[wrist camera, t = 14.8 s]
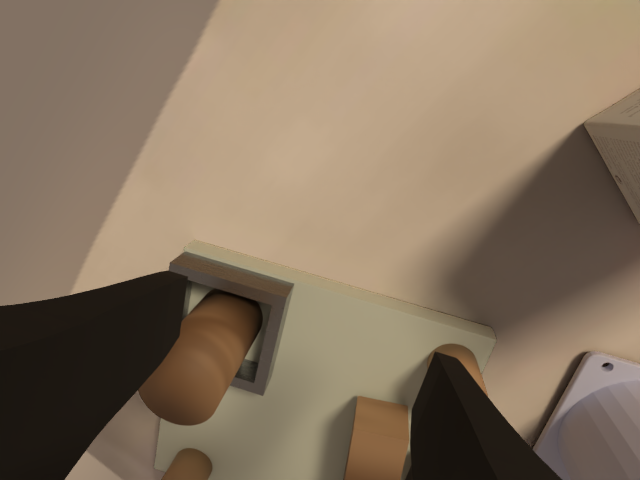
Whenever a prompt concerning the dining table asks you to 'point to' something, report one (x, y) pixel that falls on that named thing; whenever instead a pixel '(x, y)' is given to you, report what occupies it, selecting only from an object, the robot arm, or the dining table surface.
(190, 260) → the socket
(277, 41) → the dining table surface
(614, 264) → the dining table surface
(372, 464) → the folding leg
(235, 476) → the seat board
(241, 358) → the loose leg
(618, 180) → the small box
